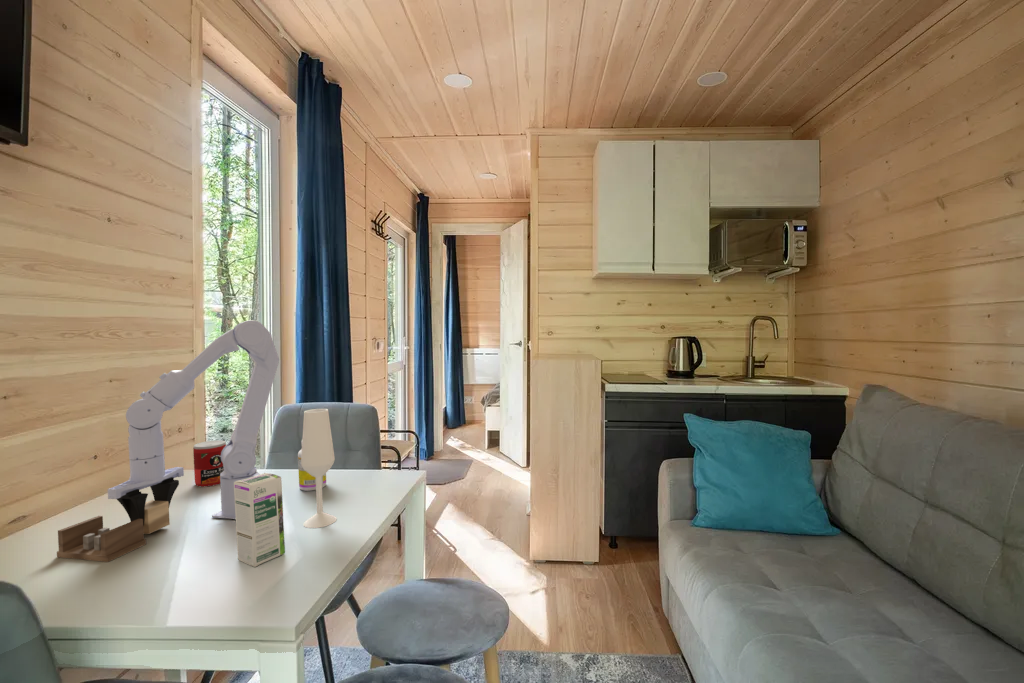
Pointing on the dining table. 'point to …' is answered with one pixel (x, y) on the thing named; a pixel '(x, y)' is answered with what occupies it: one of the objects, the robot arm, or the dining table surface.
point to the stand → (99, 540)
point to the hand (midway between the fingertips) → (150, 520)
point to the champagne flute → (317, 458)
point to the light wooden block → (156, 516)
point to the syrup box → (259, 518)
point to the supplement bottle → (307, 477)
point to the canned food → (208, 462)
